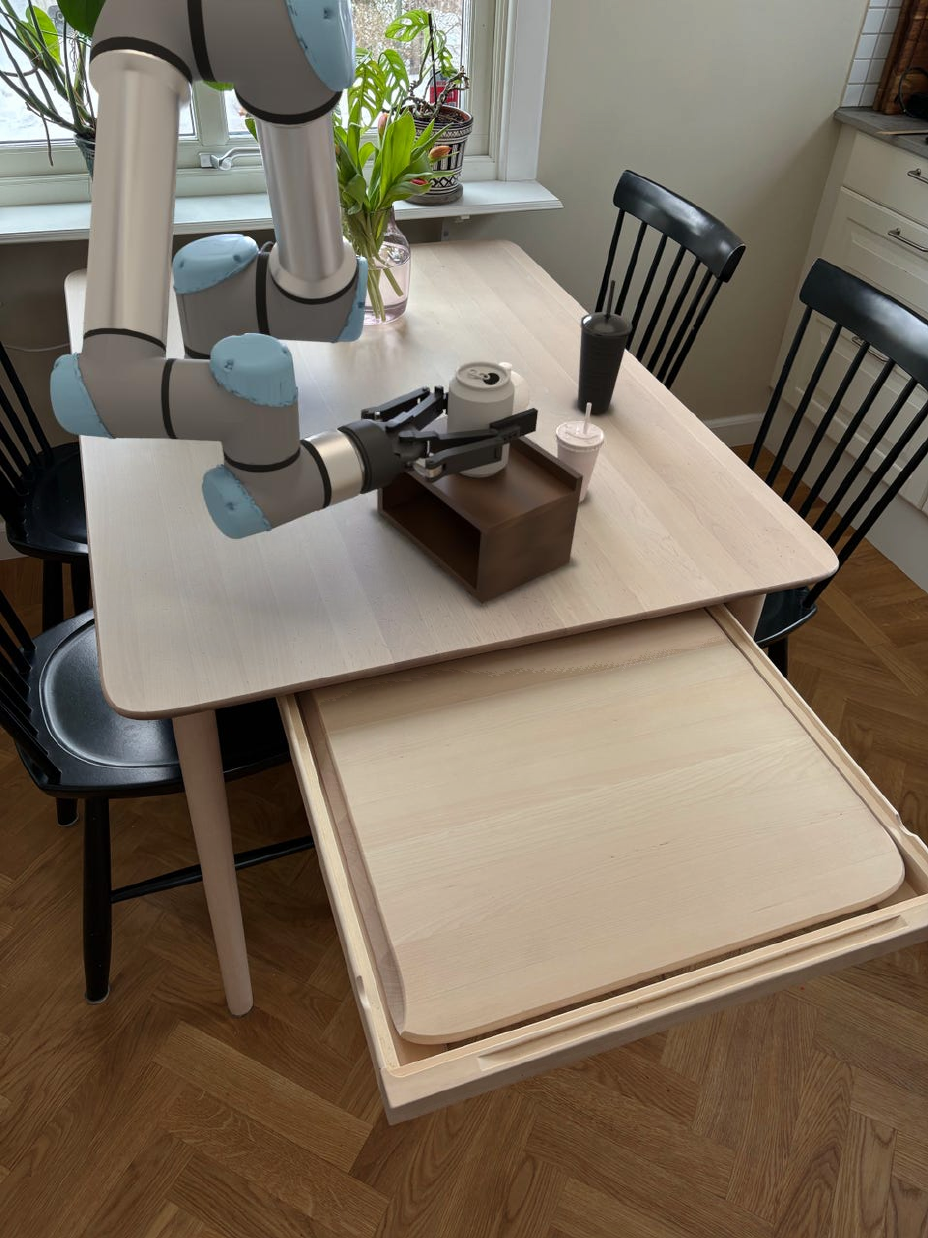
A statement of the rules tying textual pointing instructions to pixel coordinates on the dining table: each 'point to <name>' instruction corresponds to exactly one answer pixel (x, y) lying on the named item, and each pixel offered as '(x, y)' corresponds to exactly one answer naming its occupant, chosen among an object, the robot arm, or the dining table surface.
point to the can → (480, 404)
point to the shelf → (489, 518)
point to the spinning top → (518, 390)
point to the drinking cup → (601, 356)
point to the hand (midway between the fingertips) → (512, 404)
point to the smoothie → (580, 447)
